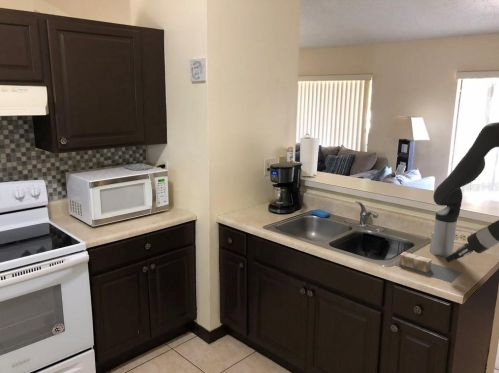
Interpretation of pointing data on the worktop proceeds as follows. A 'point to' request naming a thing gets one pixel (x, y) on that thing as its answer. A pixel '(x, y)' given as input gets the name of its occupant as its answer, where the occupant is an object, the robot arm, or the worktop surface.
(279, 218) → the worktop surface
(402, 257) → the birch block
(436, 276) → the rubber mat
